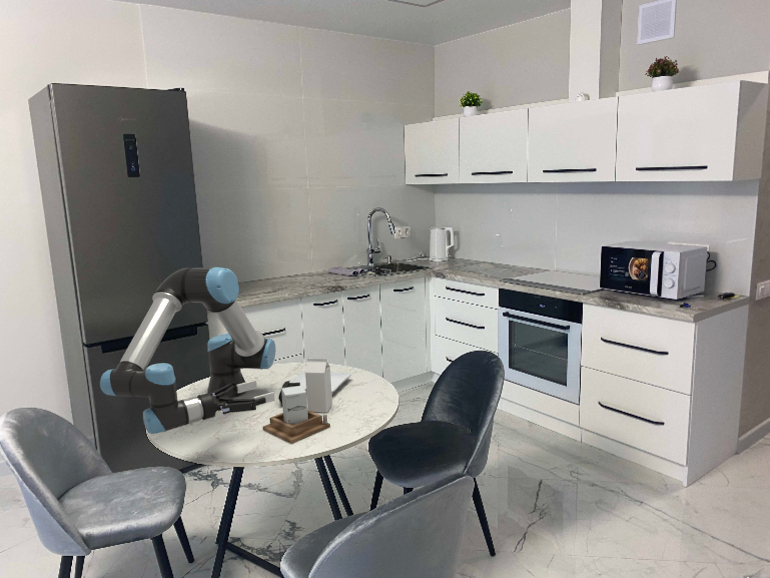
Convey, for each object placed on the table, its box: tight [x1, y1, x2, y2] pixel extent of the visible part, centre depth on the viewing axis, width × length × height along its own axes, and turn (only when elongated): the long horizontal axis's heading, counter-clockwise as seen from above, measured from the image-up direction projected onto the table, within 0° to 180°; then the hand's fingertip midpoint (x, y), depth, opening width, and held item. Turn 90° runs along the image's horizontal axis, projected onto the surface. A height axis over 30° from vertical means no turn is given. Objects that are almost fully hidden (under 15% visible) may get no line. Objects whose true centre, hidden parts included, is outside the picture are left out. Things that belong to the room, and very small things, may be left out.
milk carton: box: [304, 357, 333, 413], centre depth 210 cm, size 7×7×19 cm
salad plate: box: [290, 369, 352, 395], centre depth 233 cm, size 21×21×3 cm
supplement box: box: [280, 385, 308, 426], centre depth 194 cm, size 7×7×13 cm
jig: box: [262, 409, 331, 445], centre depth 195 cm, size 16×16×4 cm
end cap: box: [278, 380, 300, 405], centre depth 218 cm, size 10×7×7 cm
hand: (265, 389), depth 186 cm, fingers open, 13 cm apart
